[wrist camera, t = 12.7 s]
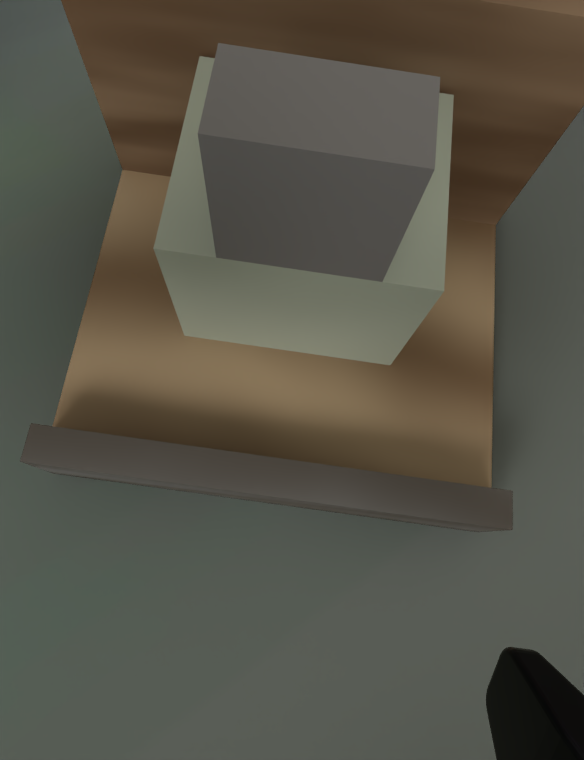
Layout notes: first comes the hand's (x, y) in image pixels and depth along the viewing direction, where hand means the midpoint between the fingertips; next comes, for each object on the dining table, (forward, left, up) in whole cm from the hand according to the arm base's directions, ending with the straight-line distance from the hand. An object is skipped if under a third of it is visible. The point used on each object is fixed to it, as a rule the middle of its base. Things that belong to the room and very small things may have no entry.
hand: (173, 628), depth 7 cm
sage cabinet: (+6, -9, -9) cm, 14 cm away
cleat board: (+5, -7, -10) cm, 13 cm away
